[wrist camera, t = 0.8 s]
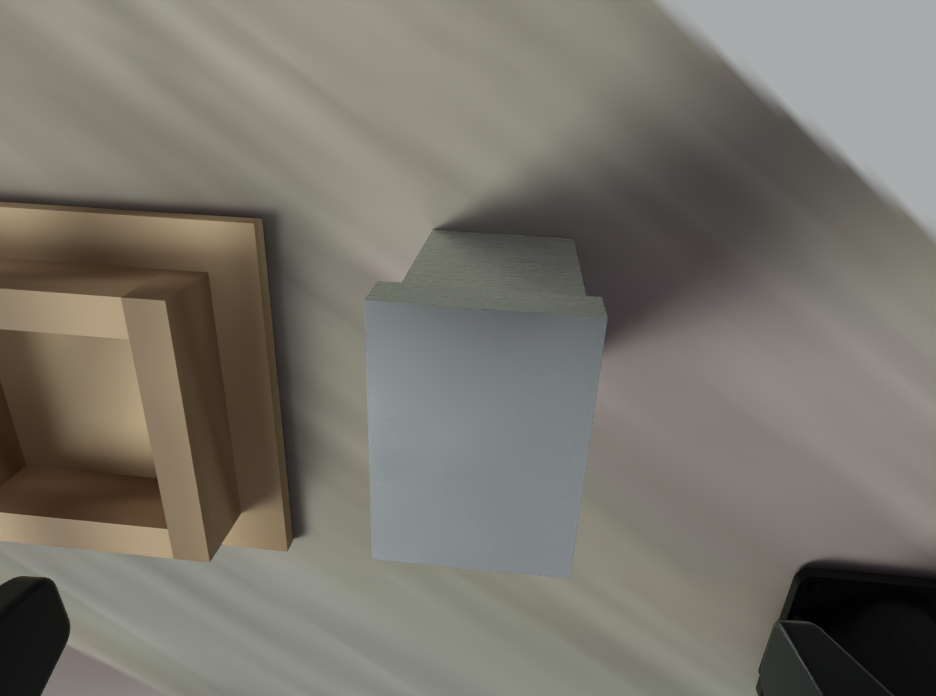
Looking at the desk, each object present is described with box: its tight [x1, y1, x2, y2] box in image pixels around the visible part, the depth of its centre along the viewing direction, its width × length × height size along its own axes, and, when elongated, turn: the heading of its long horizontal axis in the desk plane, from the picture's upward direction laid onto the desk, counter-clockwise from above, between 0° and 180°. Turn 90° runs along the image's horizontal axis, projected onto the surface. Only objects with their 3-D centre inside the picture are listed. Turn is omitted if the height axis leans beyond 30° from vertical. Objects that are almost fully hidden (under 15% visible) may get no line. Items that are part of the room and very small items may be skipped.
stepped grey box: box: [364, 229, 608, 579], centre depth 15 cm, size 4×6×8 cm
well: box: [0, 202, 293, 562], centre depth 20 cm, size 12×12×3 cm
